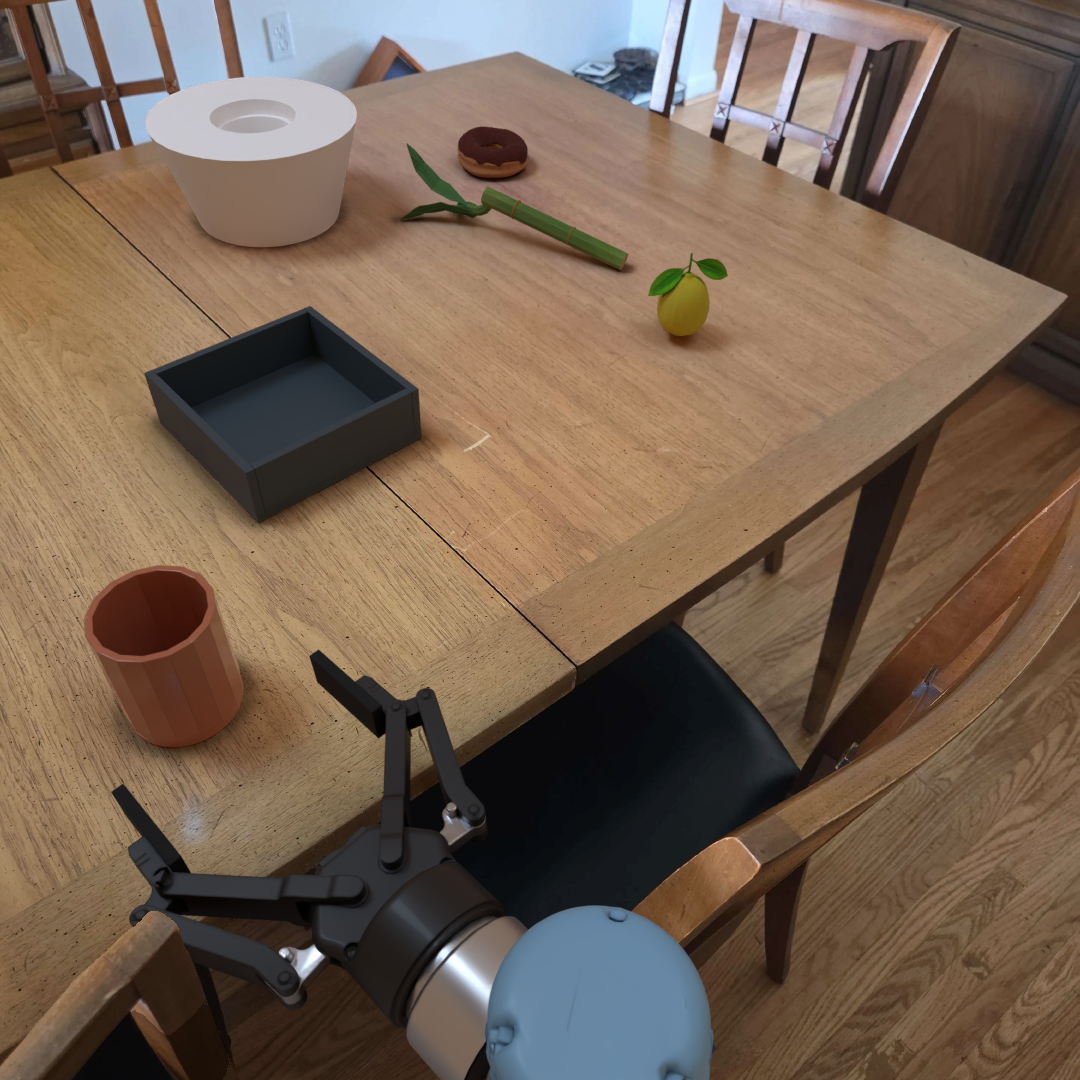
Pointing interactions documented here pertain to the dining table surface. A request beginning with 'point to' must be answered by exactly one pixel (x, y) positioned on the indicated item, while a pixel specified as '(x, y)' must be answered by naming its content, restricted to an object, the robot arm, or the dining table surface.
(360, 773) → the dining table surface
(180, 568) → the cup
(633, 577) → the dining table surface
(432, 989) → the robot arm
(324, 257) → the dining table surface
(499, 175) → the donut
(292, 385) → the bin
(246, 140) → the white tapered round pot
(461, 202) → the decorative plant
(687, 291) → the lemon
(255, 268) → the dining table surface
